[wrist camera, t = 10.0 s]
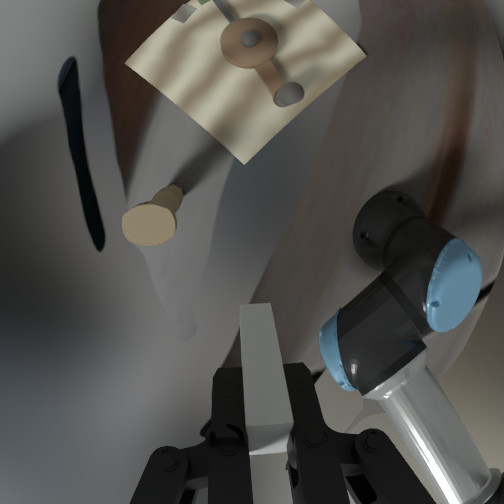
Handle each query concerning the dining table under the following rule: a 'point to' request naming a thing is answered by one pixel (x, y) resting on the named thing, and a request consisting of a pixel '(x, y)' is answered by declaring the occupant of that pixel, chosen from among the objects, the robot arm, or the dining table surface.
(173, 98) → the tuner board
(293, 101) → the brown handled round piece
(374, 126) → the dining table surface
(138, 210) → the handle
